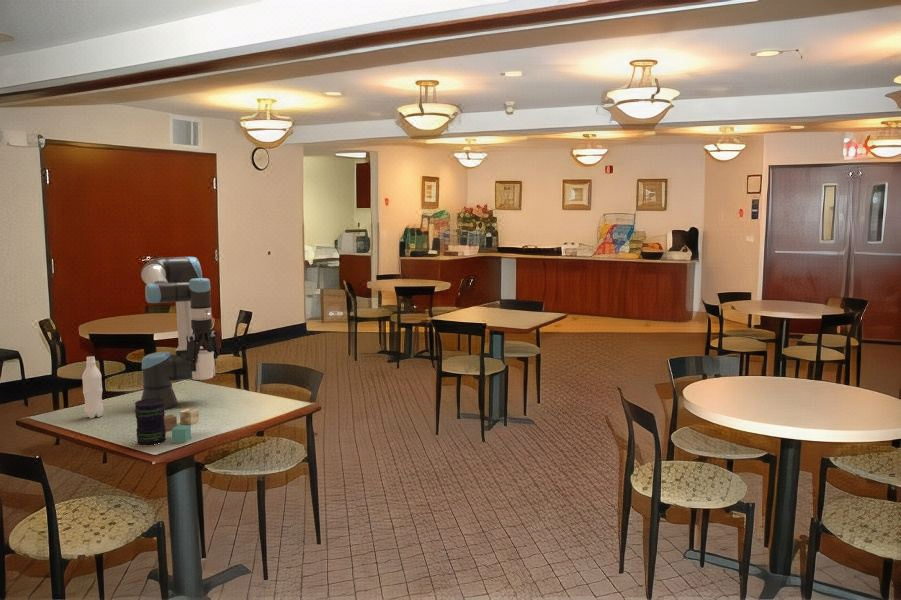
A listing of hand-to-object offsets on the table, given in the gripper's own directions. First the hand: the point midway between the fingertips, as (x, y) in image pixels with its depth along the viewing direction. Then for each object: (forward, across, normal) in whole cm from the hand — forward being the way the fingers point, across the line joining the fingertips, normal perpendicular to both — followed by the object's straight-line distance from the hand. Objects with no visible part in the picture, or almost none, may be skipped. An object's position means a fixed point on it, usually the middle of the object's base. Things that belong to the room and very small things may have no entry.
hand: (203, 377), depth 272 cm
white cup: (+1, 0, 0) cm, 1 cm away
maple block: (+20, +2, +11) cm, 23 cm away
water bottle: (+20, -9, +53) cm, 57 cm away
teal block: (+20, -16, -4) cm, 26 cm away
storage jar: (+20, -22, +5) cm, 30 cm away
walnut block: (+20, -8, +12) cm, 25 cm away
